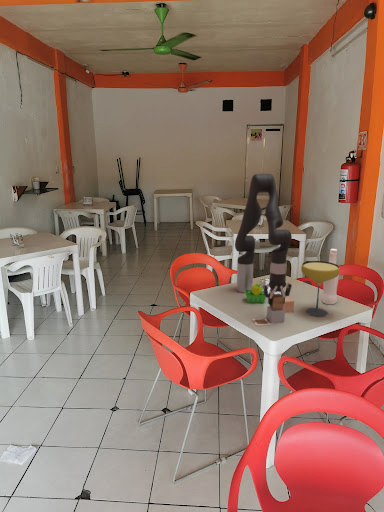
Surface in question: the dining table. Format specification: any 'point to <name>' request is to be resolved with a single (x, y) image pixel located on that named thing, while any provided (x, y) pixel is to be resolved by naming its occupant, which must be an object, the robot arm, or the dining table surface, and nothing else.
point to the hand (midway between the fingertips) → (276, 304)
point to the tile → (261, 322)
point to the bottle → (330, 283)
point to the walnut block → (277, 301)
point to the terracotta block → (288, 305)
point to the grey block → (275, 315)
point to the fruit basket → (255, 294)
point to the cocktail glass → (319, 279)
